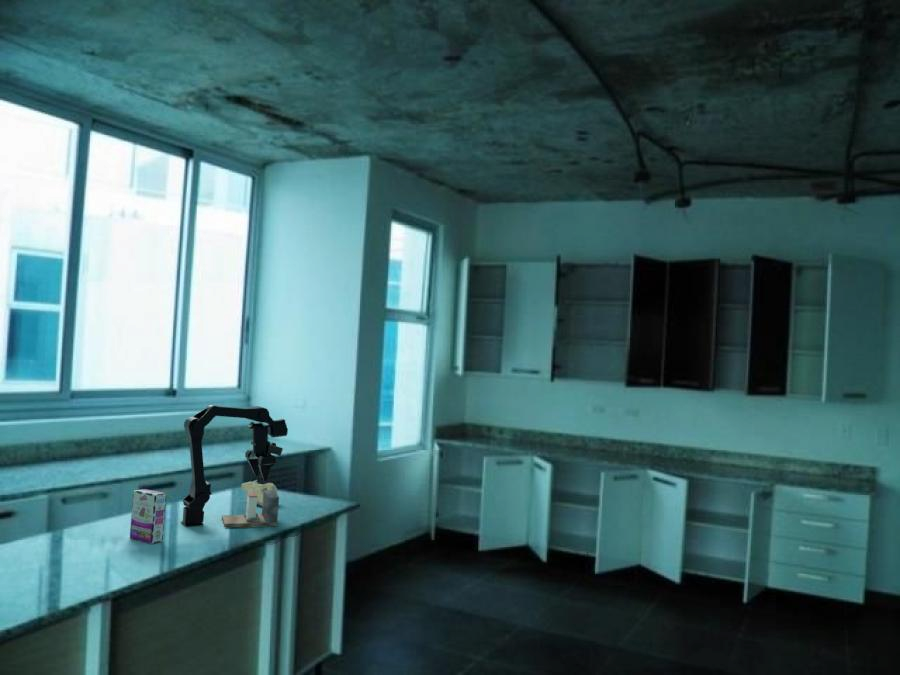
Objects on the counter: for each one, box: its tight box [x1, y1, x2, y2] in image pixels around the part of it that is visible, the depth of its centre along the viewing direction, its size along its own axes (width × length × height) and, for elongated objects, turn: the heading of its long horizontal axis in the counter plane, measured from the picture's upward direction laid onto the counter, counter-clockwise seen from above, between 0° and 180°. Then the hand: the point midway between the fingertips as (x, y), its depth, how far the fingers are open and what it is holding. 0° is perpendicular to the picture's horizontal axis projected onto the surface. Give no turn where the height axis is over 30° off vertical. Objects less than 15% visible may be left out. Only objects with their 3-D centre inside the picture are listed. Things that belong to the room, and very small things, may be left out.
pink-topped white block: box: [245, 493, 258, 518], centre depth 277 cm, size 3×6×9 cm, turn 22°
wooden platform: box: [221, 490, 280, 528], centre depth 277 cm, size 19×13×11 cm
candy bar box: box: [129, 488, 168, 545], centre depth 245 cm, size 11×5×16 cm, turn 62°
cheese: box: [240, 479, 278, 507], centre depth 311 cm, size 15×7×15 cm
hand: (261, 478), depth 284 cm, fingers open, 9 cm apart
